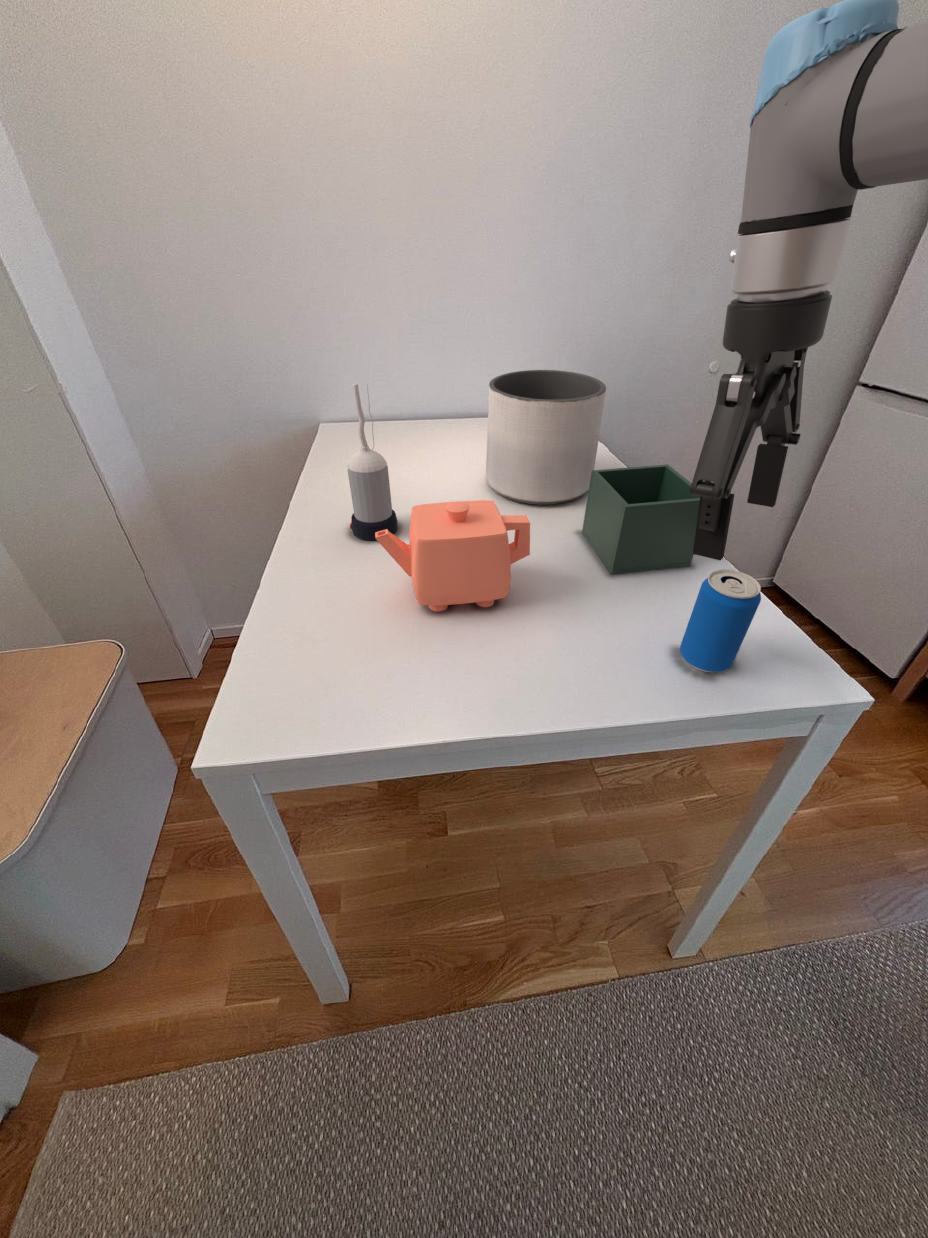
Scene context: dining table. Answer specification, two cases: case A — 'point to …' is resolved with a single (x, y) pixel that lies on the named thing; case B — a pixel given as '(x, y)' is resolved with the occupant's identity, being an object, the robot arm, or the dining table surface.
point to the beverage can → (720, 620)
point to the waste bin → (641, 518)
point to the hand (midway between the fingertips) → (736, 528)
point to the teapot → (459, 552)
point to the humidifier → (369, 487)
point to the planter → (543, 434)
